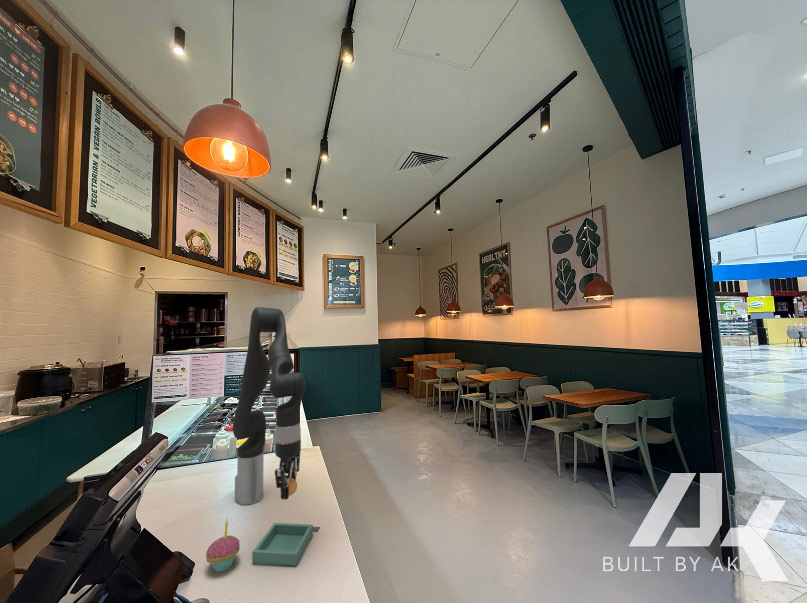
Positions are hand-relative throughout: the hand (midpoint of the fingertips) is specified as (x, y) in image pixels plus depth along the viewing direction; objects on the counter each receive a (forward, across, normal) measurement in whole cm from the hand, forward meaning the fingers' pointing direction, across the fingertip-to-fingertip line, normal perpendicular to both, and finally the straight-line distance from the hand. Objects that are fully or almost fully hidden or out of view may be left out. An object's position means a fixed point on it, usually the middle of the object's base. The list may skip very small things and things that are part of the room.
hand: (288, 493), depth 102 cm
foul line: (+16, -8, -1) cm, 18 cm away
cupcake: (+16, +9, -16) cm, 24 cm away
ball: (-2, 0, 0) cm, 2 cm away
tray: (+16, +1, -1) cm, 16 cm away
